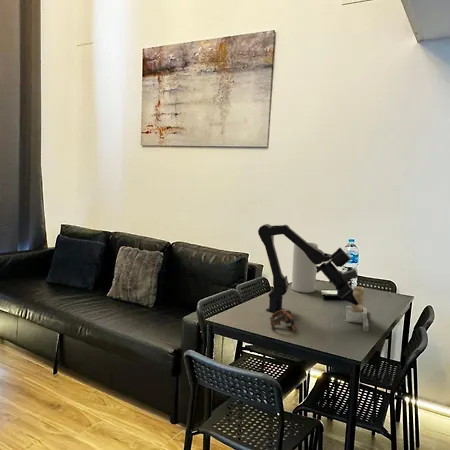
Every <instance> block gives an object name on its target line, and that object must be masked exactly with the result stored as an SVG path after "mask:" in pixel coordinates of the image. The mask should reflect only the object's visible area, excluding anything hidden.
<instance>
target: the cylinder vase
mask: <svg viewBox="0 0 450 450" xmlns="http://www.w3.org/2000/svg"><path fill="white" fill-rule="evenodd" d="M306 242H307V241H306ZM307 243H309V244H310V245H312V246H314V247H316V248H318V249H319V245H318V244H317V243H314V242H307ZM292 252H293V253H292V275H291V290H293V291H294V292H297V293H302V294H305V293H306V294H310V293H313V292H315V291H316V285H317V284H316V281H317V280H316V279H317V273H316V271H317V269H316V266H318V265H316V264H314V263H312V262H311V260H310V259H309V258H308V257H307V255H306V254H305V253H304V251H303V250H301V249H300V248H299V247H298V246H297V245H295V244H294V243H293V251H292Z"/></svg>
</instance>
